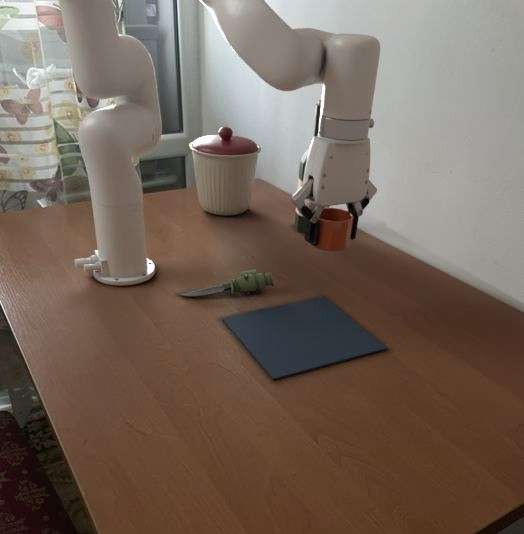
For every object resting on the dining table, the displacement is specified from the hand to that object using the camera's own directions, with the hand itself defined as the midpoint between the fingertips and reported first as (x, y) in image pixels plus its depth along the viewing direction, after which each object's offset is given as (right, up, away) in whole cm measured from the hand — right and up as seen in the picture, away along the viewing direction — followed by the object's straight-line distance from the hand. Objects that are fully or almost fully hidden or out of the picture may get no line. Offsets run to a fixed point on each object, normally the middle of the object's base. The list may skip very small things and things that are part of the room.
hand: (330, 239), depth 92 cm
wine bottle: (+1, +12, +47) cm, 49 cm away
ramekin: (0, -1, 0) cm, 1 cm away
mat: (-4, -16, +4) cm, 17 cm away
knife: (-18, -8, +16) cm, 26 cm away
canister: (-22, +19, +56) cm, 63 cm away
